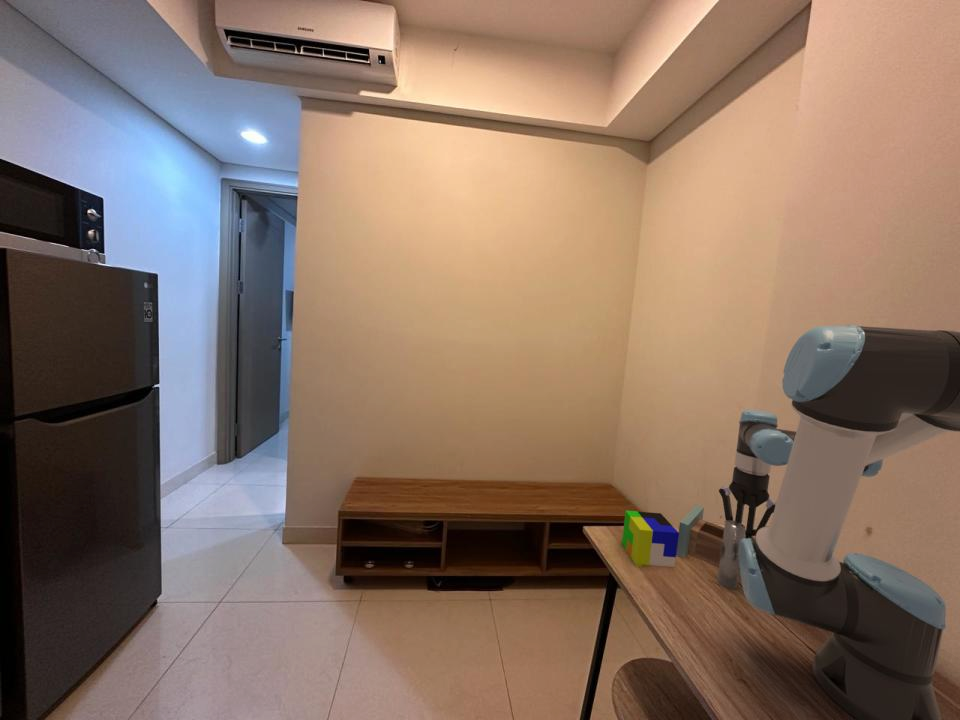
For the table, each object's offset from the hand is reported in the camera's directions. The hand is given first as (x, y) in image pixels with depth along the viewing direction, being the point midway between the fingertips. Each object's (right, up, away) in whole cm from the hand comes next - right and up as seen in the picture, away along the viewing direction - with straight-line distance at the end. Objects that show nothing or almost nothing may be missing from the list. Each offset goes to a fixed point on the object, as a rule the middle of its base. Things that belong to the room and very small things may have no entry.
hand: (739, 555), depth 98 cm
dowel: (-8, -4, -7) cm, 12 cm away
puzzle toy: (-23, -2, +3) cm, 24 cm away
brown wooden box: (-5, -2, +5) cm, 7 cm away
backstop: (-2, -3, +2) cm, 4 cm away
